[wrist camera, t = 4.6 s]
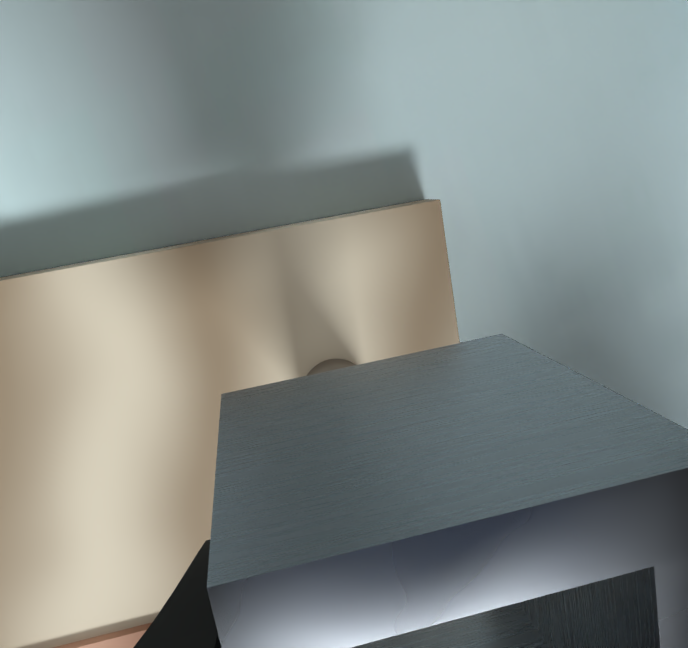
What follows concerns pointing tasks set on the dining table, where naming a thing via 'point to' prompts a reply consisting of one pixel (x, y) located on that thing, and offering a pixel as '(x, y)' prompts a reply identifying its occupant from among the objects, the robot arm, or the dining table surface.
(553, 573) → the collar
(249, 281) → the stand
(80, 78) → the dining table surface
